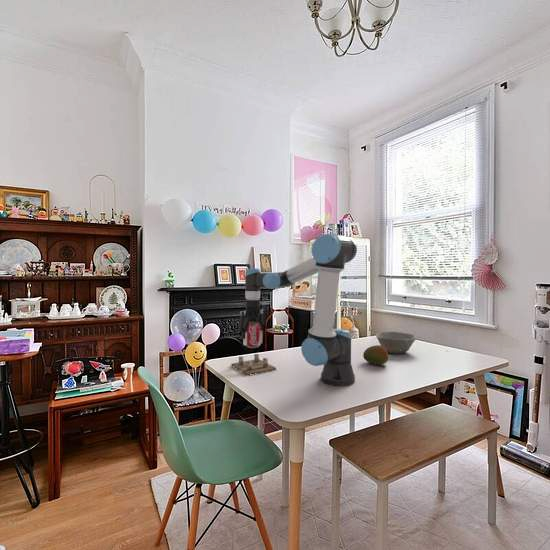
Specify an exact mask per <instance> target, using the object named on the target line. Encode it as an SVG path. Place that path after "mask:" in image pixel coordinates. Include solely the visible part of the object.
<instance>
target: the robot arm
mask: <svg viewBox="0 0 550 550" xmlns="http://www.w3.org/2000/svg"><path fill="white" fill-rule="evenodd" d="M357 252H358V247H357V243H356V241H355V240H354V239H353V237H349V236H347V235H341V234H334V233H324V234H320V235H319V236H318V237H317V238H316V239H315V240H314V242H313V243H312V246H311V256H312V257H311V258H309V259H307V260H305V261H303V262H300V263H299V264H296V265H295V266H293V267H290V268H288V269H287V270H284V271H282V272H281V271H279V272H261V269H260V268H246V269H245V275H244V280H245V281H244V283H245V284H244V287H245V289H244V290H245V292H244V293H245V294H244V295H245V302H244V304H245V306H244V307H245V309H244V310H243V311H242V310H240V311H239V322H238V327H237V328H238V329H237V331H238V332H240V333H241V339H242V340H243V341H242V343H243V346H245V347H247V332H246V329H247V327H248V324H249V322H251V320H252V319H253V318H255V322H259V324H260V326H261V344H263V337H264V336H265V335H264V331H266V329H268V325H267V318H266V309H261V300H260V299H261V289H269V290H273V289H277V288H289V287H293V286H294V285H295V284H296V283H299V282H300V281H302V280H305V279H307V278H309V277H311V276H314V275H317V282H316V291H315V292H316V293H315V301H314V302H315V303H314V309H313V311H314V312H313V321H312V327H310V328H309V329H308V331H307V338H305V339H304V340H303V341H302V343H301V348H300V349H301V354H302V357H303V358H304V359H305V362H307V363H308V364H309V365H311V366H314V367H318V366H319V367H320V366H323V367H322V371H321V374H320V380H321V382H323V383H325V384H327V385H331V386H340V387H341V386H350V385H353V384H354V383H355V382H356V376H355V373H354V368H353V365H352V333H351V331H350V330H348V329H341V328H334V326H335V317H336V308H337V300H338V299H337V298H338V292H339V282H340V273H342V271H344V270H345V265H346V264H347V263H350V262H351V261H353V260H354V259H355V257H356V256H357ZM245 315H246V316H245Z"/></svg>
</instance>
